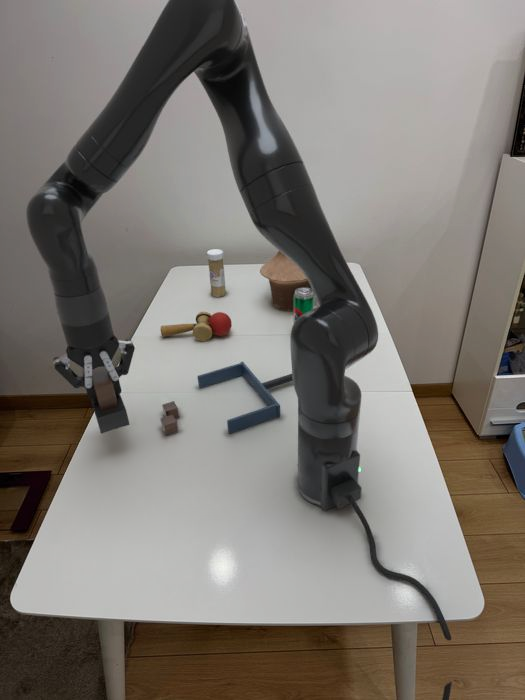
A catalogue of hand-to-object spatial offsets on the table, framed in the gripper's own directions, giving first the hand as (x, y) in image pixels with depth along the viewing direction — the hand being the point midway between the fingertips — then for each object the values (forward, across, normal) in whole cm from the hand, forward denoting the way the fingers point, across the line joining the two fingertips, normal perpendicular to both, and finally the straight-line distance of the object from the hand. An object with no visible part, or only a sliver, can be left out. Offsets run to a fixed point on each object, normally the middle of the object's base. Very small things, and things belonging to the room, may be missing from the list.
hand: (106, 397), depth 87 cm
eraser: (+4, 0, 0) cm, 4 cm away
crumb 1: (+10, +11, +2) cm, 15 cm away
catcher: (+10, +29, 0) cm, 31 cm away
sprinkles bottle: (+11, +40, +50) cm, 65 cm away
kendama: (+10, +27, +30) cm, 41 cm away
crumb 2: (+10, +10, -2) cm, 14 cm away
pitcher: (+10, +57, +34) cm, 67 cm away
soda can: (+10, +51, +17) cm, 54 cm away
